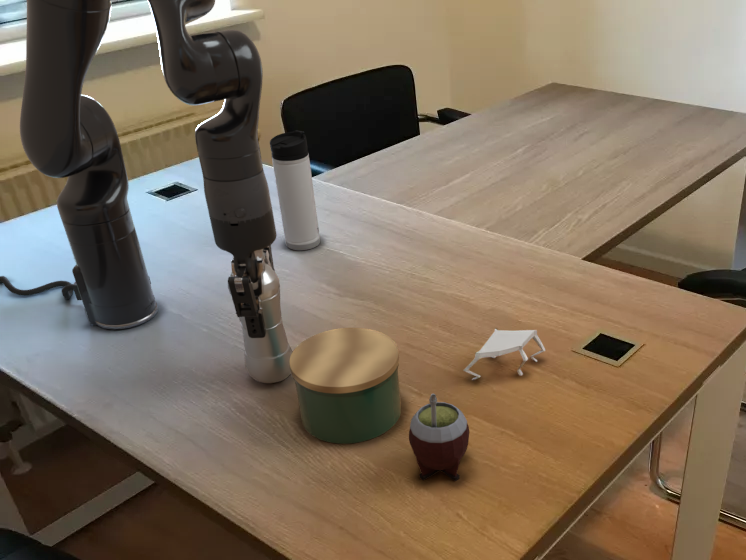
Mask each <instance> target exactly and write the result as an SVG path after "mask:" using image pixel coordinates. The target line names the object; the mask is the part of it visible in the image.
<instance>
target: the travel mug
mask: <svg viewBox="0 0 746 560" xmlns="http://www.w3.org/2000/svg"><path fill="white" fill-rule="evenodd" d="M269 146H270V148H269V149H270V153H271V160H272V161H271V162H272V168H273V175H274V179H275V186H276V192H277V198H278V205H279V210H280V211H279V212H280V217H281V224H282V229H283V236H284V242H285V246H286V247H287V248H288V249H290V250H293V251H308V250H312V249H314V248H316V247H318V246H319V245H320V243H321V235H320V227H319V220H318V212H317V205H316V198H315V190H314V183H313V176H312V167H311V161H310V154H309V150H308V141H307V136H306V132H305V131H302V130H298V129H296V130H293V131H288V132H283V133H279V134H277V135H274V136H273V137H271V139H270V140H269Z"/></svg>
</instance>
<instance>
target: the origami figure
mask: <svg viewBox="0 0 746 560" xmlns="http://www.w3.org/2000/svg"><path fill="white" fill-rule="evenodd" d="M531 339H533V341H534V342H535V343H536V344H537V346H538V347H539V349H540V350H539V351H537V352H535V353H533V354H532V355H530V356H529V357H528V355H527V354H526V352H525V350H524V347H525V346H526V345H527V344H528V343H529V342H530V341H531ZM517 351H518V352H519V353H520V356H521V358H522V362H521V364H520V365H519V366H518V368H517V370H516V372H517V374H518V376H523V375H524V373H523V371H522V367H523V366H524V365H525V364H526V362H527V361H528V360H529V358H530V359H531V360H532V361H534V363H537V362H538V359H537V358H535V356H537V355H539V354H542V353H544V352H546V348H545V345H544V344H543V342H542V340H541V339H540V337H539V335H538V330H537V329H524V330H523V329H521V330H519V329H518V330H510V329H509V330H503V329H500V330H499V329H497V328H494V331H493V332H492V334H491V335H490V336H489V338H488V339H487V340H486V342H485V343H484V344H483V345H482V347H481V348H480V350H478V351H477V352H475V354H474V358H473V359H472V361H471V362H470V363H469V364H468V365H467V366H466V367H464V369H463V370H462V371H463V372H465V373H467V374H469V375H472V376H473V378H472V379H471V381H476V380H478V379H479V378H481V377H482V375H480V374H478V373H476V372H474V371H472V370H470V369H471V368H472V367H473V366H474V365H475V364H476V363H478V362H479V360H481V359H484V358H493V359H496V358H497V357H501V356H504V355H507V354H511V353H514V352H517Z"/></svg>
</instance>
